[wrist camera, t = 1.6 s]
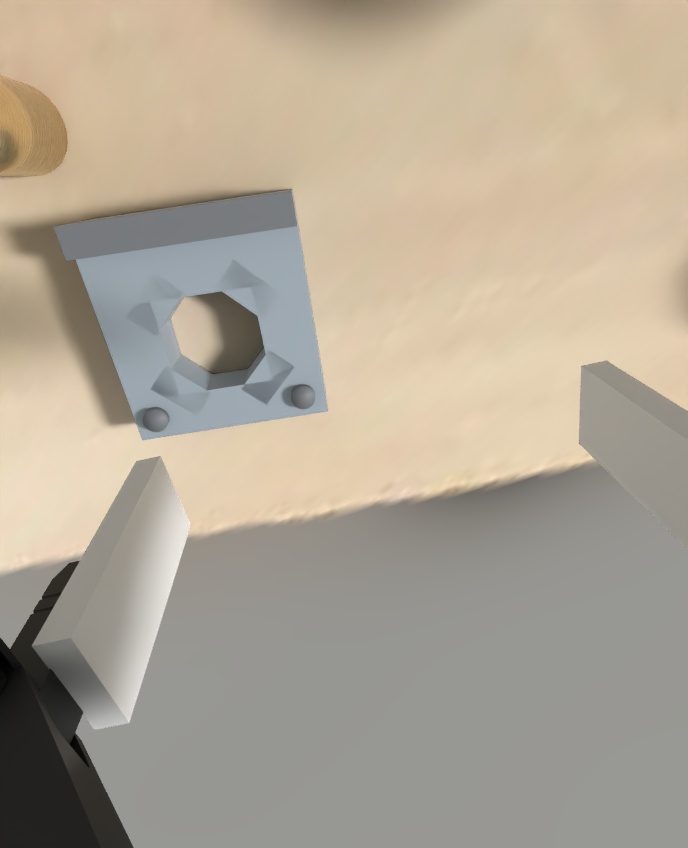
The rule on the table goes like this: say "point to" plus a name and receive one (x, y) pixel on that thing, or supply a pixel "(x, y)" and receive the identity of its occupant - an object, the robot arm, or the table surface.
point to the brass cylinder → (29, 131)
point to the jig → (194, 275)
